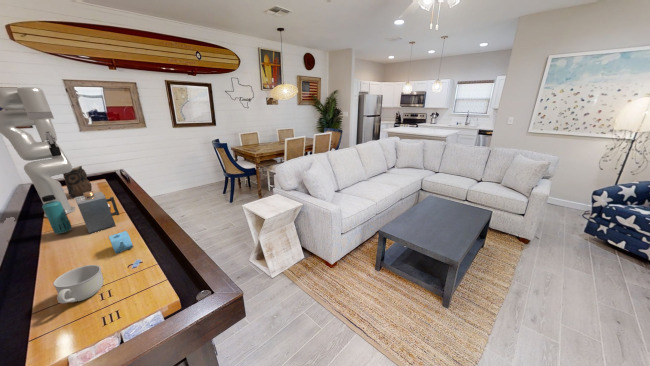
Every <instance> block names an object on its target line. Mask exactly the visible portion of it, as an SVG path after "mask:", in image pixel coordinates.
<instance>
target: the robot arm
mask: <svg viewBox="0 0 650 366" xmlns="http://www.w3.org/2000/svg"><path fill="white" fill-rule="evenodd" d="M0 108H1V109H3V110H0V134H1V135H2V136H3V137H5V138H6V139H7V140H8V141H9V143H10V144H11V146H12V147H13V149H14V150H15V152H16V154H17V155H18V156H19V157H20V158H21V159H22V160H23V161H26V162H27V161H28V163H26V164H24V166H23V170H24V172H25V174H26V175H27V176H28V178H29V179H30V180H31V182H32V184H33V186H34V188H35V190H36V191H37V194H38V196H39V198H40V200H41V202H42V206H43V205H44V204H45V203H47V202H51V201H47V202H43V200H42V197H44V196H47V195H54V196H55V198H56V199H55V200H52V201H59V202H61V204H62V206H63V208H64V210H65V212H66V215H67V214H71V213H72V212H74V211H75V210H76V208H75V206H71V204H70V203H69V200H68V197H67V194H66V192H65V190H64V189H63V186H62V184H61V182H60V181H59V180H58V179H54V178H53V177H54V176H59V175H63V174H64V173H68V172H71V171H72V168H73V166H72V164H71V162H70V160H69V159H68V157H67V155H66V154H65V153H64V151H63V150H62V148H61V146H60V145H59V144H58V143H57V141H58V137H57V133H56V131H55V128H54V124H53V122H52V120H54V119H55V118H54V115H53V113H52V110H51V107H50V104H49V102H48V100H47V98H46V96H45V92H44V90H43V89H42V88H39V87H31V86H30V87H28V86H27V87H26V86H24V87H23V86H22V87H15V86H13V87H11V86H10V87H9V86H7V87H6V86H5V87H4V86H3V87H2V86H1V87H0ZM30 126H35V128H36V131H37V133H38V135H39V138H40V141H36V140H35V138H34V136H33V135H32V134H31V133H29V132H27V131H25V130H23V129H21V128H17V127H30ZM43 216H44V218H47V216H46V214H45V213H44V214H43Z"/></svg>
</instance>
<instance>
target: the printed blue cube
mask: <svg viewBox="0 0 650 366" xmlns="http://www.w3.org/2000/svg"><path fill="white" fill-rule="evenodd" d="M108 239H109V241H110V244H111V247H112V249H113V251H114V254H115V255H116V254H120V253H121V254H122V252H125V251H127V250H128V251H129V250H131V249H133V248H134V245H133V242H132V240H131V237H130V234H129V233H128V231H127V230H124V231H121V232H118V233H115V234H112V235H108Z"/></svg>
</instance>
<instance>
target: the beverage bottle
mask: <svg viewBox="0 0 650 366" xmlns="http://www.w3.org/2000/svg"><path fill="white" fill-rule="evenodd" d="M55 199H56V198H55V196H54V195H47V196H44V197H42V200H43V202H47V201H51V202H47V203H45V204H44V205H43V204H42V206H41V208H42V210H43V212H44V214H46V216H47V217H46V218H47V220H48V223H49V225H50V226H51V227H50V228H51V229H52V231H53V233H54V234H57V235H58V234H63V233H67V232H69V231H71V230H72V229H73V225H72V223H71V221H70V220H69V216H68V215H67V214H66V212H65V210H64V208H63V206H62V204H61V202H59V201H52V200H55ZM42 200H41V201H42Z"/></svg>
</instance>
